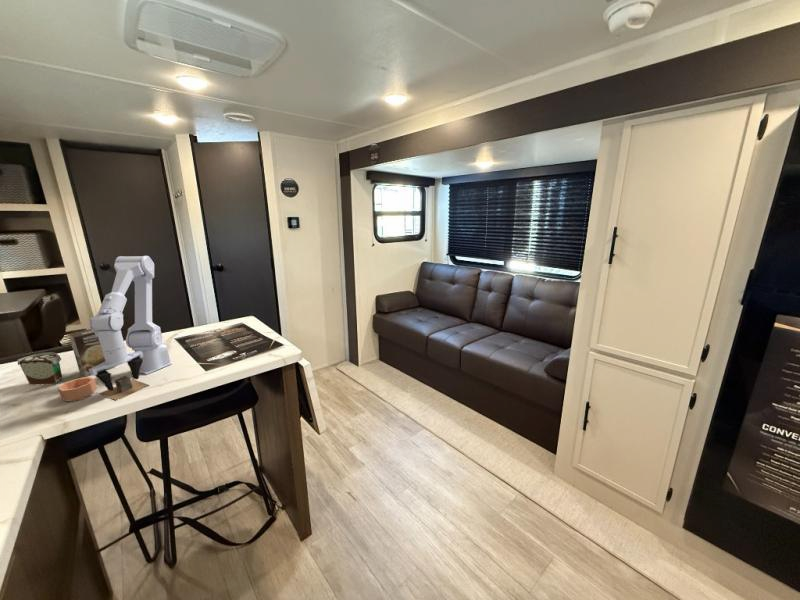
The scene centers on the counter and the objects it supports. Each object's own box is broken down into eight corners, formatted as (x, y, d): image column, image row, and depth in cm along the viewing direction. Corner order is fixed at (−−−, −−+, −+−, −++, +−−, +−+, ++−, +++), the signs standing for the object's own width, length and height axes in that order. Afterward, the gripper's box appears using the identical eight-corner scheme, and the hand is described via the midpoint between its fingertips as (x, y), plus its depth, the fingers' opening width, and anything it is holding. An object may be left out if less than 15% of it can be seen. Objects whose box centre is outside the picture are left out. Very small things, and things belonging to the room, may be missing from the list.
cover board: (133, 381, 116) (130, 369, 115) (150, 387, 113) (147, 375, 111) (100, 395, 108) (96, 382, 106) (116, 402, 104) (113, 389, 102)
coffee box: (85, 377, 118) (73, 337, 114) (79, 372, 121) (67, 334, 117) (116, 367, 126) (105, 329, 121) (109, 363, 129) (99, 326, 124)
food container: (77, 375, 119) (69, 351, 116) (61, 384, 113) (52, 359, 110) (43, 376, 119) (34, 352, 116) (25, 385, 113) (15, 359, 110)
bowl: (89, 386, 112) (85, 375, 111) (102, 391, 109) (98, 380, 108) (58, 399, 105) (54, 387, 103) (71, 404, 102) (66, 392, 100)
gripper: (130, 338, 113) (139, 372, 117) (79, 355, 100) (90, 392, 104) (143, 341, 111) (151, 375, 115) (92, 358, 98) (103, 396, 102)
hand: (123, 383), depth 109 cm, fingers open, 7 cm apart
